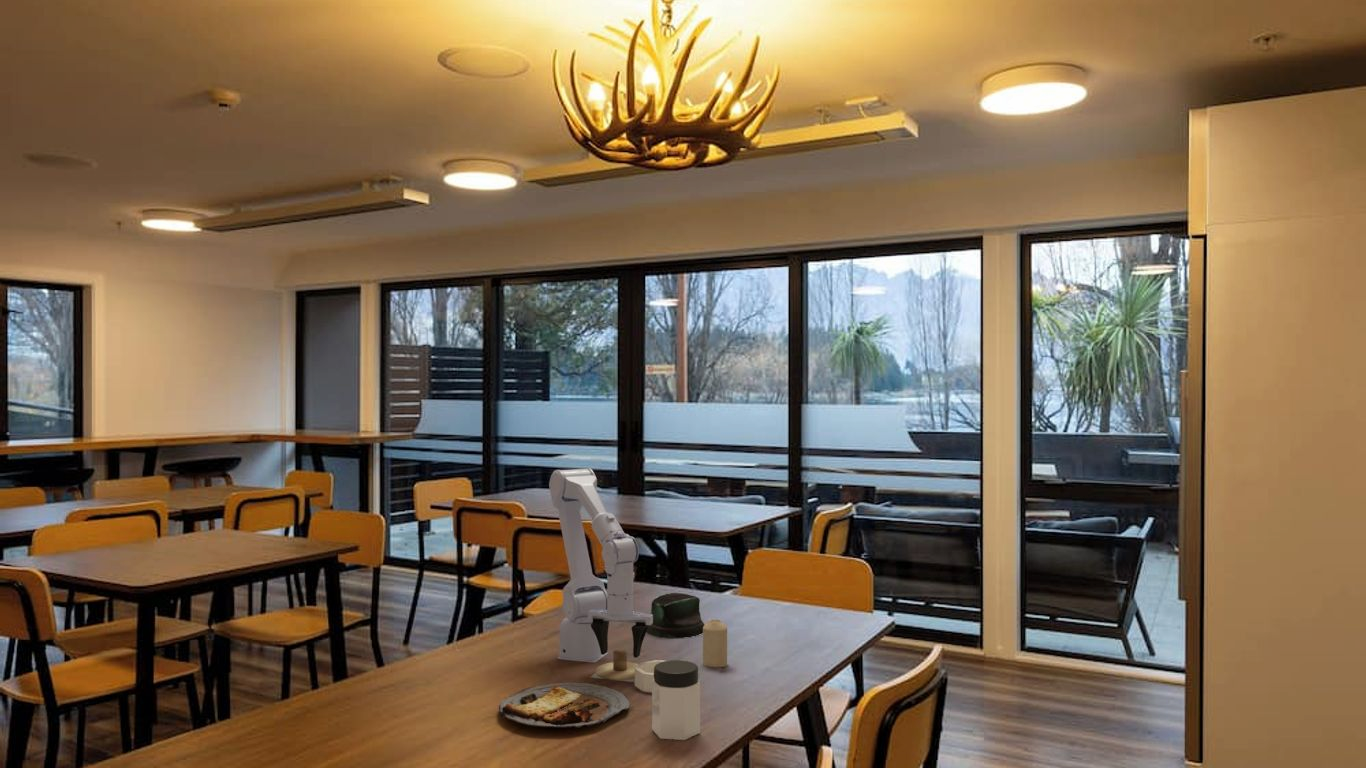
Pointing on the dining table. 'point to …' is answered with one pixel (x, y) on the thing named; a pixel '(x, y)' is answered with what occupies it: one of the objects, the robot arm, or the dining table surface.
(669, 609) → the black rounded piece
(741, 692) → the dining table surface
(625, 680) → the mat
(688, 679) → the jar
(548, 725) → the food plate
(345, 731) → the dining table surface
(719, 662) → the candle
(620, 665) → the lid
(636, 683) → the bowl
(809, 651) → the dining table surface
